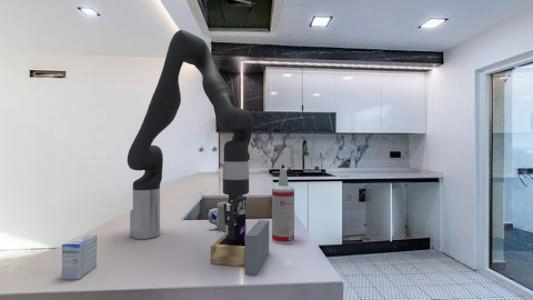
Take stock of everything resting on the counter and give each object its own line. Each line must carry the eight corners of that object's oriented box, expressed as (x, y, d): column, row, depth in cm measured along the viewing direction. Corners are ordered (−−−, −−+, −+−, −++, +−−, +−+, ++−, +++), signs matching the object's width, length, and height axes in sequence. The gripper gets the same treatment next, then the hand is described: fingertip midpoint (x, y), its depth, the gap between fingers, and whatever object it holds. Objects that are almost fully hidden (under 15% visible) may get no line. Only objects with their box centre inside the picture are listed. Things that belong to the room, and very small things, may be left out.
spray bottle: (282, 236, 104) (282, 167, 104) (298, 240, 99) (298, 168, 99) (267, 241, 98) (267, 168, 98) (283, 246, 93) (283, 169, 93)
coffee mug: (241, 225, 120) (241, 201, 120) (242, 231, 110) (242, 205, 110) (209, 226, 118) (209, 201, 118) (207, 232, 108) (207, 206, 108)
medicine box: (79, 267, 76) (79, 234, 76) (97, 266, 77) (97, 234, 77) (61, 280, 68) (61, 244, 68) (80, 279, 69) (80, 243, 69)
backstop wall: (245, 275, 71) (245, 235, 71) (259, 252, 87) (259, 220, 87) (256, 276, 71) (256, 235, 71) (269, 253, 86) (269, 220, 86)
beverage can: (242, 254, 79) (242, 211, 79) (222, 253, 80) (223, 210, 80) (247, 247, 84) (248, 207, 84) (229, 246, 85) (229, 206, 85)
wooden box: (210, 264, 78) (210, 245, 78) (224, 250, 88) (224, 234, 89) (249, 267, 76) (249, 248, 76) (259, 252, 86) (259, 236, 86)
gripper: (241, 179, 74) (241, 244, 74) (254, 175, 88) (254, 229, 88) (214, 179, 76) (214, 242, 76) (231, 174, 90) (231, 228, 90)
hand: (235, 235), depth 82 cm, fingers open, 6 cm apart
